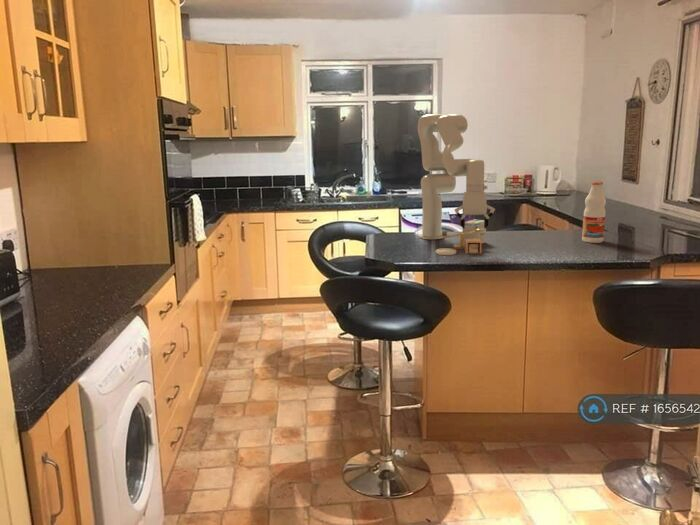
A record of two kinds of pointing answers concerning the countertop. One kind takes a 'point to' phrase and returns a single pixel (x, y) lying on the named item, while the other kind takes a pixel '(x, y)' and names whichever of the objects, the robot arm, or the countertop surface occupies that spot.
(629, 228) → the countertop surface
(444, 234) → the balance
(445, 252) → the dish
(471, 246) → the block
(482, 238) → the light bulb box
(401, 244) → the countertop surface
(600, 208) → the fruit juice
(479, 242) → the reddish brown box
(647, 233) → the countertop surface
